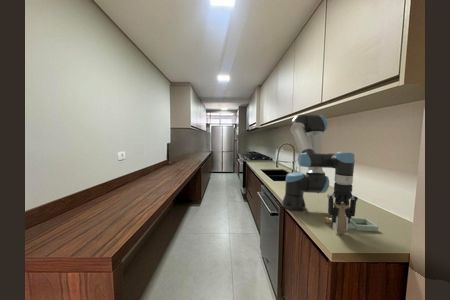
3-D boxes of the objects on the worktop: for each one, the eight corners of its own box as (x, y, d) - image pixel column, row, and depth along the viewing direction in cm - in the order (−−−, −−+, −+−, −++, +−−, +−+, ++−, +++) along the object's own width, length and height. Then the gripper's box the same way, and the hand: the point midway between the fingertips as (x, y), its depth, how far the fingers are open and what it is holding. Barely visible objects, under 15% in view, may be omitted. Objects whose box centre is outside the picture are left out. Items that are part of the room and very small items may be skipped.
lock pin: (324, 221, 102) (324, 215, 102) (337, 222, 102) (337, 216, 102) (327, 224, 99) (327, 218, 99) (340, 224, 99) (341, 219, 99)
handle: (332, 229, 95) (332, 201, 94) (346, 231, 93) (347, 202, 92) (334, 234, 91) (334, 205, 89) (349, 236, 88) (350, 206, 87)
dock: (331, 220, 105) (332, 212, 105) (365, 222, 104) (365, 214, 104) (341, 229, 96) (341, 220, 95) (377, 231, 94) (378, 222, 94)
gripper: (329, 184, 87) (326, 231, 89) (366, 185, 85) (363, 233, 87) (321, 180, 94) (319, 224, 96) (356, 181, 93) (353, 226, 95)
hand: (340, 228), depth 92 cm, fingers closed on handle, 4 cm apart
